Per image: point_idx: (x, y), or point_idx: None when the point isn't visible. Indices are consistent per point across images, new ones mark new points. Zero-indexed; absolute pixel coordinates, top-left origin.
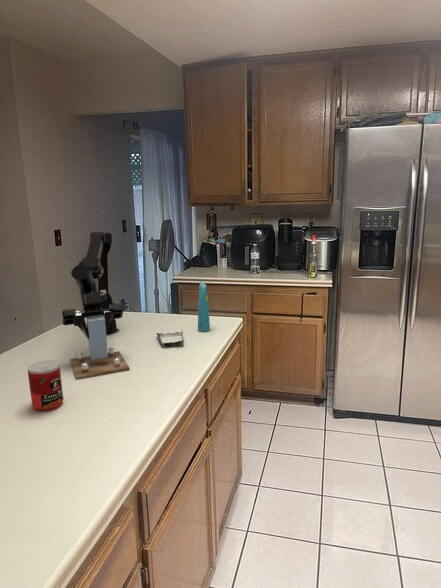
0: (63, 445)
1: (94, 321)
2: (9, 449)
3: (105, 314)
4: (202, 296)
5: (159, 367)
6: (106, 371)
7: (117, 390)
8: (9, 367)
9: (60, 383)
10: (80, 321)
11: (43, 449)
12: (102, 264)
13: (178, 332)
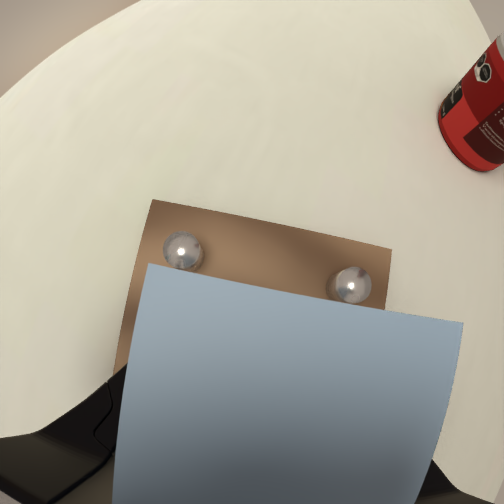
0: (423, 5)
1: (361, 306)
2: None
3: (55, 487)
4: None
5: (59, 162)
6: (258, 224)
7: (278, 78)
8: (495, 483)
9: (469, 71)
10: (454, 494)
11: (449, 19)
12: None
13: None
